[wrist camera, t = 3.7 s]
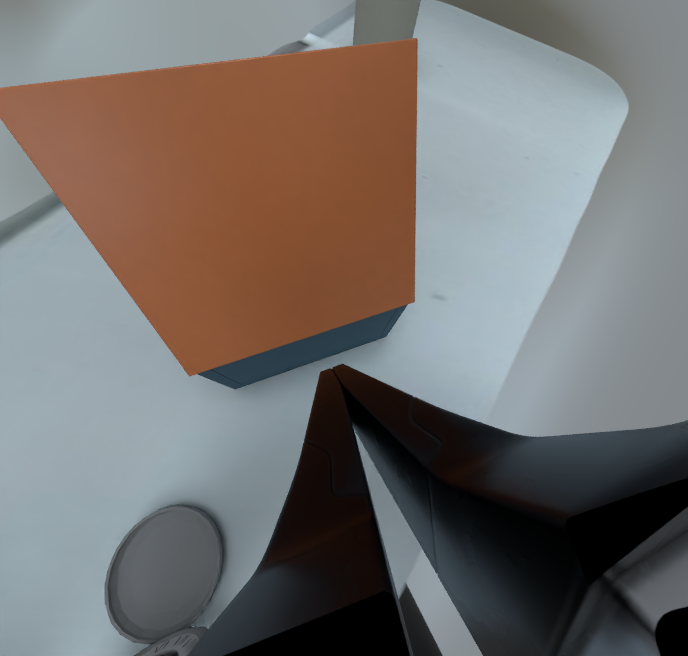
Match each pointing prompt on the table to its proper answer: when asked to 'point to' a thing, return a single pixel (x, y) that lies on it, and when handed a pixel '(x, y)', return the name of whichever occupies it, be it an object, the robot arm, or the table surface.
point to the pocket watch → (164, 580)
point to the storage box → (304, 350)
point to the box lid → (240, 189)
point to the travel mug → (384, 20)
